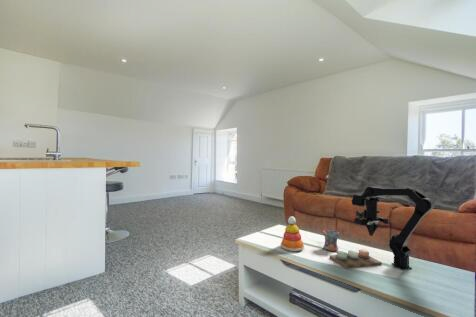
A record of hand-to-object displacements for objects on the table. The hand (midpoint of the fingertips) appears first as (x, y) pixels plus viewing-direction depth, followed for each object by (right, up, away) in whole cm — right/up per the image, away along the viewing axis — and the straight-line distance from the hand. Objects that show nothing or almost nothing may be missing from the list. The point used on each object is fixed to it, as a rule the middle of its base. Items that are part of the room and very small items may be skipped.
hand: (371, 235), depth 134 cm
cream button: (-13, -10, -6) cm, 17 cm away
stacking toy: (-43, -11, +10) cm, 45 cm away
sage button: (-20, -9, -7) cm, 23 cm away
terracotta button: (-6, -10, -4) cm, 12 cm away
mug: (-18, -12, +11) cm, 25 cm away
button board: (-13, -12, -7) cm, 19 cm away
